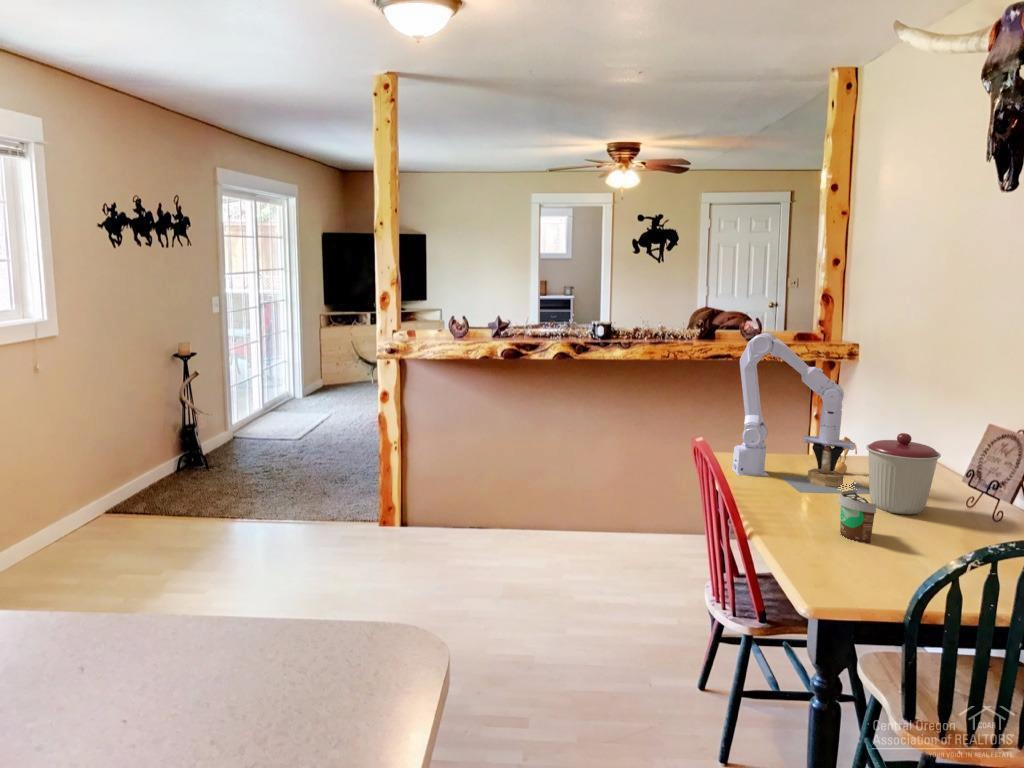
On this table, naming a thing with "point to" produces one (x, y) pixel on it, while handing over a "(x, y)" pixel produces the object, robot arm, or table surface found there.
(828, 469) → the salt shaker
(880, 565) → the table surface
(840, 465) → the figurine
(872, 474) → the canister
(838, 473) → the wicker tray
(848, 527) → the food container
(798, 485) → the felt mat
